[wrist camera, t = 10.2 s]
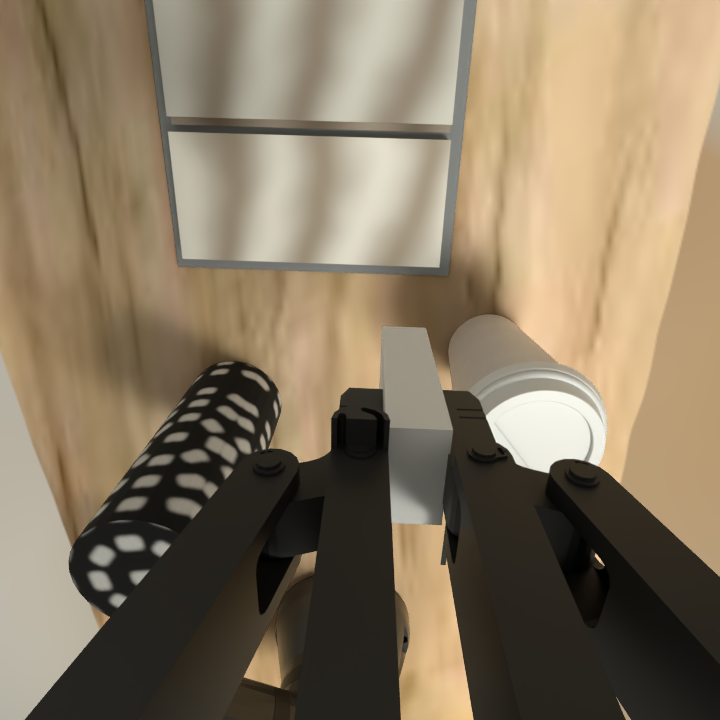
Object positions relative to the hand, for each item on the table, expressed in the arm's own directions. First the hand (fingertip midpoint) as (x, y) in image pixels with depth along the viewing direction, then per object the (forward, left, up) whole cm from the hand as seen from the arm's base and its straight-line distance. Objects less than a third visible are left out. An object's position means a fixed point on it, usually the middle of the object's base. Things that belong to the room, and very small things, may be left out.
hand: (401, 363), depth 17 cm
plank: (-2, +6, -23) cm, 24 cm away
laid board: (+6, +13, -24) cm, 27 cm away
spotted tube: (-20, 0, -24) cm, 32 cm away
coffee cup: (-1, -13, -24) cm, 27 cm away
